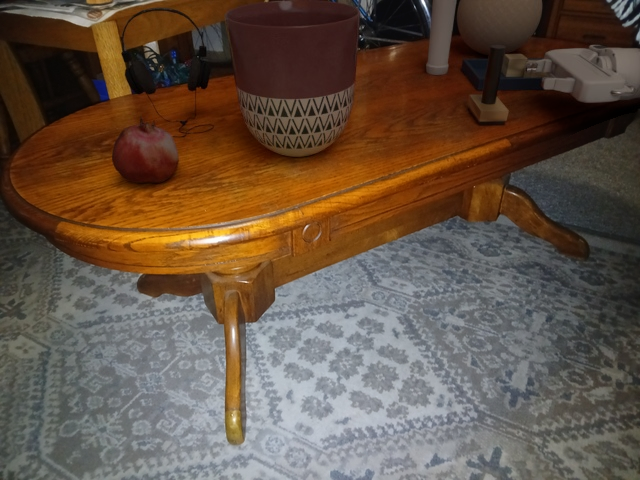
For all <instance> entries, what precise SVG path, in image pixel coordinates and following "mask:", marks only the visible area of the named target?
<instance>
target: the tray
mask: <svg viewBox="0 0 640 480" xmlns="http://www.w3.org/2000/svg"><path fill="white" fill-rule="evenodd" d="M526 58H527V60H542V59H544V57H526ZM487 63H488V58H462V61H461V68H460V70H461V71H462V72H463V74H464V76H465V77H466V78H467V79H468V81H469V82H470V83H471V84H472V86H473V87H474V88H475V89H476V91H477V92H479V91H480V92H481V91H482V92H483V87H484V81H485V75H486V69H487ZM549 77H550V76H549ZM542 78H543V77H506V76H505V75H504V74H503V73H502V72H501V76H500V81H499V86H498V91H546V90H545V89H544V88H543V87H542V86H541V83H542Z"/></svg>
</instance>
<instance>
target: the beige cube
mask: <svg viewBox="0 0 640 480" xmlns="http://www.w3.org/2000/svg"><path fill="white" fill-rule="evenodd" d="M536 61H539V60H527V62H536ZM527 62H526V63H527ZM523 77H549V75H548V74H547V73H546V72H536V73H527V72H526V71H524V76H523Z"/></svg>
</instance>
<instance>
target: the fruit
mask: <svg viewBox="0 0 640 480" xmlns="http://www.w3.org/2000/svg"><path fill="white" fill-rule="evenodd" d="M155 125H156V120H153V121H152V124H151V123H149V122H147V121H146V122H144V117H143V116H140V118H139V124H132V125H129V126H127V127H125V128H123V130H121V132H120V133H119V135H118V136H117V138H116V140H115V142H114V144H113V148H112V152H111V153H112V154H111V161H112V165H113V166H114V168H115V170H116V172H117V173H118V174H119V175H120V177H122V178H123V179H124V180H126V181H128V182H130V183H133V184H141V183H142V184H143V183H147V184H148V183H149V184H160V183H163V182H165V181H167V180H168V179H170V177H172V175H173V174H174V173H175V172H176V170H177V169H178V165H179V162H180V157H179V152H178V148H177V145H176V143H175V140H174V137H172V136H173V135H172V134H171V133H170V132H168V130H165V129H163V128H161V127H159V126H155Z"/></svg>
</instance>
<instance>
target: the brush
mask: <svg viewBox="0 0 640 480" xmlns="http://www.w3.org/2000/svg"><path fill="white" fill-rule="evenodd" d="M505 48H506V47H505V46H503V45H491V46H490V51H489V55H488V56H487V57H488V58H487V59H488V63H487V69H486V75H485V81H484V87H483V91H482V94H481V93H480V94H476V93H475V94H468V99H467V106H468V107H467V108H468V110H469V113H470V114H471V115H472V116H473V118H474V119H475V121H476V122H477V124H478V126H505V125H506V122H507V121H508V117H509V112H510V110H509V109H508V108H507V106H505V104H504V103H503V102H502V101H501V99H500V98H499V97H498V93H499V92H498V91H499V90H498V86H499V81H500V76H501V70H502V65H503V59H504V54H505Z"/></svg>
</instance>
